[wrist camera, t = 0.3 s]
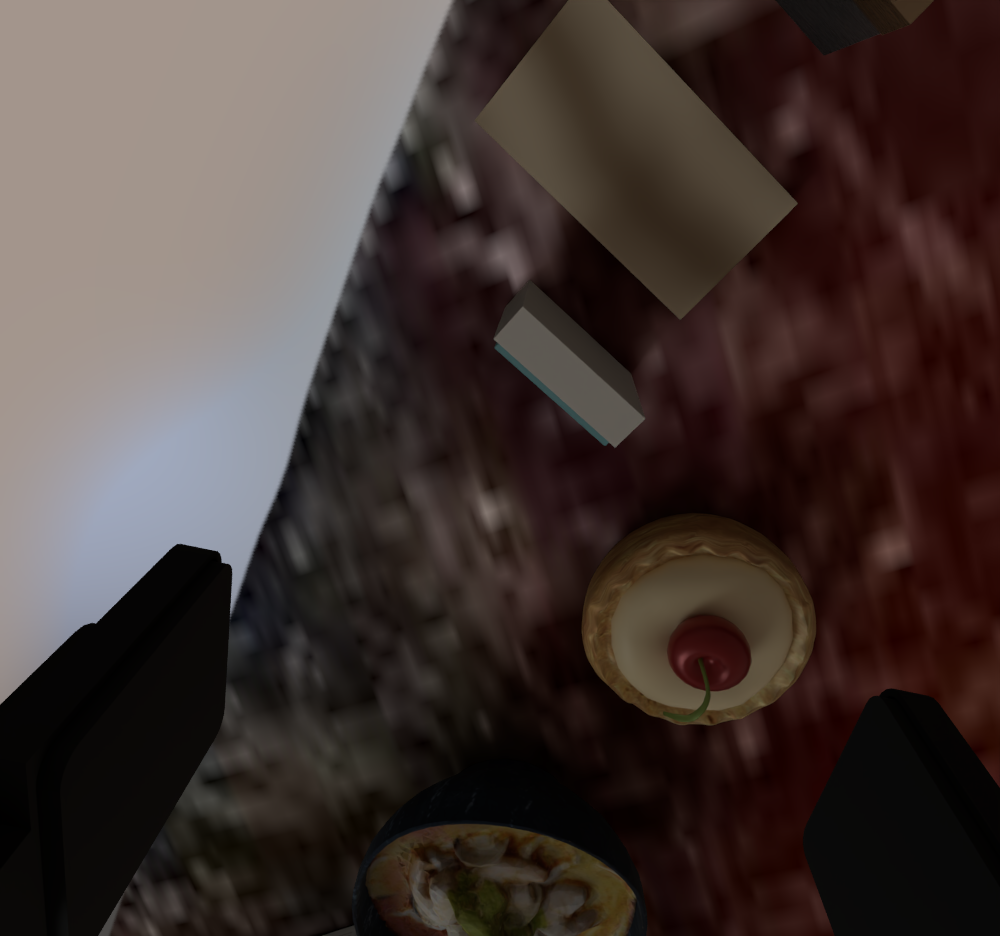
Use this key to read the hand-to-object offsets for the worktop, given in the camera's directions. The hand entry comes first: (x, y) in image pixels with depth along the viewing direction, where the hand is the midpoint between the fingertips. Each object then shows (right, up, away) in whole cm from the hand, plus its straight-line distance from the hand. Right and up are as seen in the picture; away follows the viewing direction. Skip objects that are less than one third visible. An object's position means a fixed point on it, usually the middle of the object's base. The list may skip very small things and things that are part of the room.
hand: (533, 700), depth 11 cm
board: (+6, +17, +23) cm, 29 cm away
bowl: (0, -20, +39) cm, 44 cm away
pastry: (+10, -4, +32) cm, 33 cm away
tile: (+3, +10, +26) cm, 28 cm away
